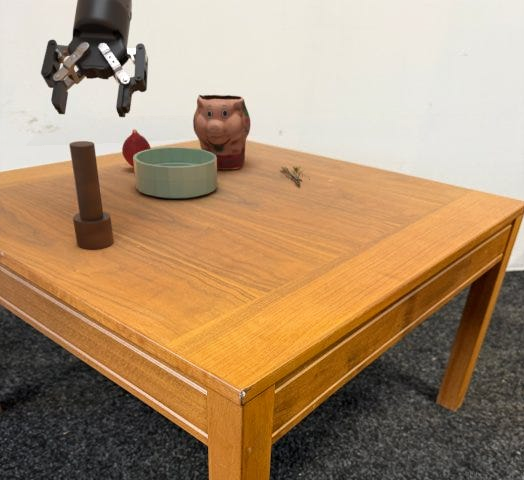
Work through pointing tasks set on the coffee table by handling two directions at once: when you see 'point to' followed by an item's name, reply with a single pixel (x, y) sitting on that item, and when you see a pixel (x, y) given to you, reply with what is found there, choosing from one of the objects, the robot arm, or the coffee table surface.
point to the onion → (134, 146)
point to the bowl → (175, 172)
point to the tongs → (292, 174)
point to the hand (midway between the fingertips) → (90, 112)
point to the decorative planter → (222, 128)
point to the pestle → (89, 199)
